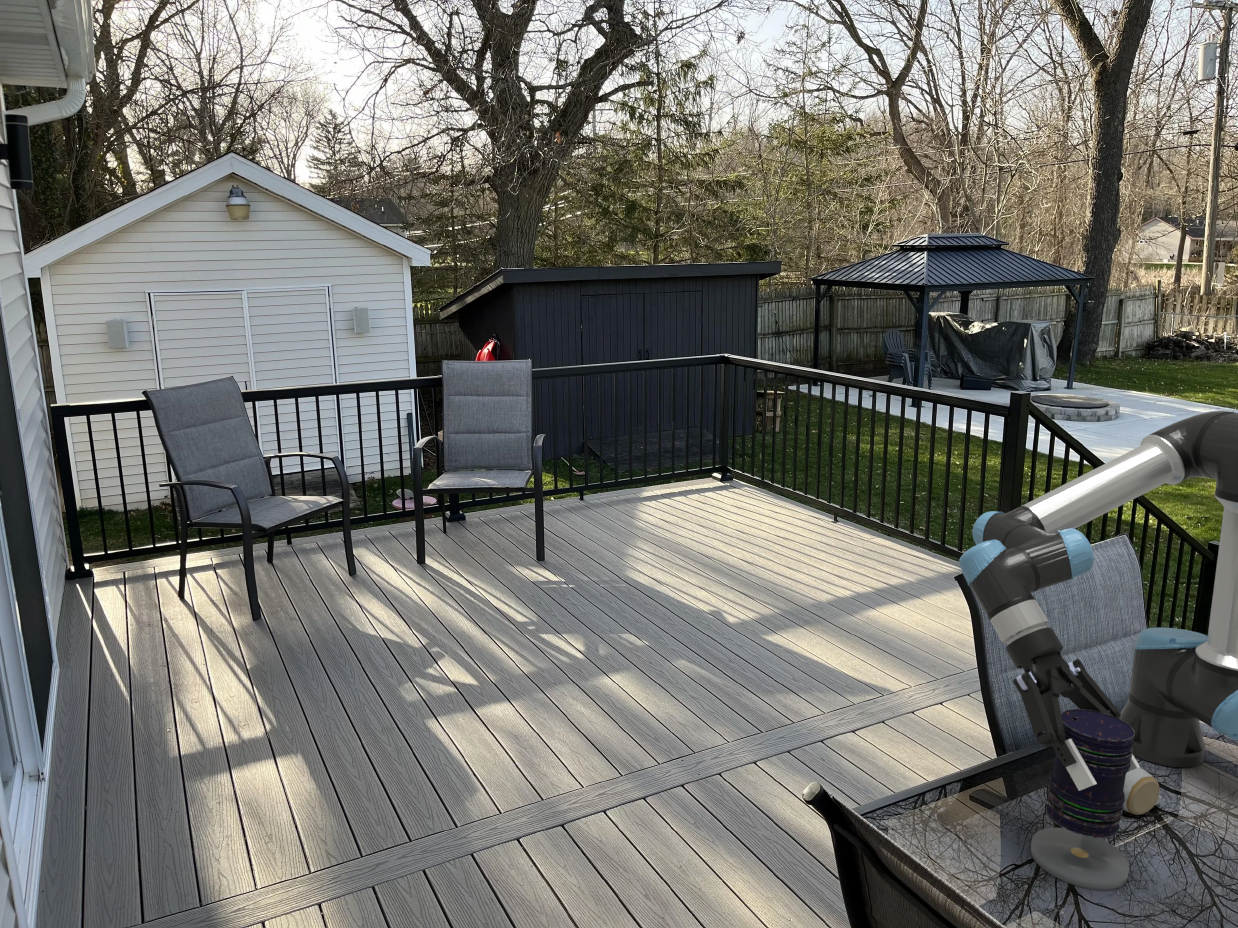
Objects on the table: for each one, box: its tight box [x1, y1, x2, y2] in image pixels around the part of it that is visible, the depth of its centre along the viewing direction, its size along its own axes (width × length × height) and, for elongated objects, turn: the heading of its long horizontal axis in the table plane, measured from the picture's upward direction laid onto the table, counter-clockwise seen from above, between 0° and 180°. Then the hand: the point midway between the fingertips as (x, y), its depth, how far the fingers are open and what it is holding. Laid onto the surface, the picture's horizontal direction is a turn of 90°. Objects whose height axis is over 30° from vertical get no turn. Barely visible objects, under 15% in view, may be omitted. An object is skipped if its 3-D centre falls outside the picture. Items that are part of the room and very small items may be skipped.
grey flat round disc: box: [1030, 827, 1130, 891], centre depth 136 cm, size 13×13×2 cm
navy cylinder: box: [1045, 708, 1135, 839], centre depth 134 cm, size 10×10×15 cm
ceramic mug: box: [1123, 766, 1162, 816], centre depth 153 cm, size 11×8×8 cm
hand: (1110, 778), depth 131 cm, fingers closed on navy cylinder, 10 cm apart
